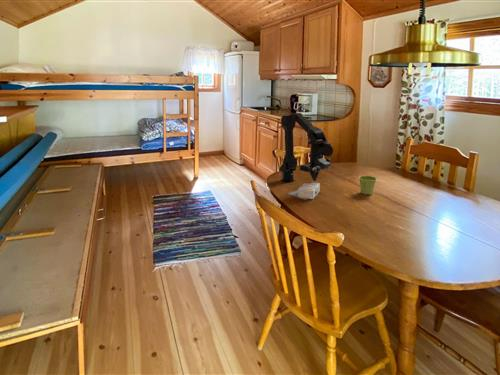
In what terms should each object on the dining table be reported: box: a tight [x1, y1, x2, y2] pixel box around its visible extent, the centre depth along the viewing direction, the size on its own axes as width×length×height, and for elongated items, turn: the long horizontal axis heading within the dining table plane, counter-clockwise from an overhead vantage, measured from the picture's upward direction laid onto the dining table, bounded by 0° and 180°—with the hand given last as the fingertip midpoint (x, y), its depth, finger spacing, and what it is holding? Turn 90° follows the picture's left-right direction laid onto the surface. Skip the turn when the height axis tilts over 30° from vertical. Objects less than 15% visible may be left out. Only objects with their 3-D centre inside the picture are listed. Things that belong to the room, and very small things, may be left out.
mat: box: [287, 189, 319, 201], centre depth 199 cm, size 13×11×1 cm
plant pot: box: [358, 175, 378, 195], centre depth 199 cm, size 9×9×9 cm
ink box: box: [297, 181, 321, 200], centre depth 196 cm, size 9×5×12 cm
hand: (314, 180), depth 202 cm, fingers closed
